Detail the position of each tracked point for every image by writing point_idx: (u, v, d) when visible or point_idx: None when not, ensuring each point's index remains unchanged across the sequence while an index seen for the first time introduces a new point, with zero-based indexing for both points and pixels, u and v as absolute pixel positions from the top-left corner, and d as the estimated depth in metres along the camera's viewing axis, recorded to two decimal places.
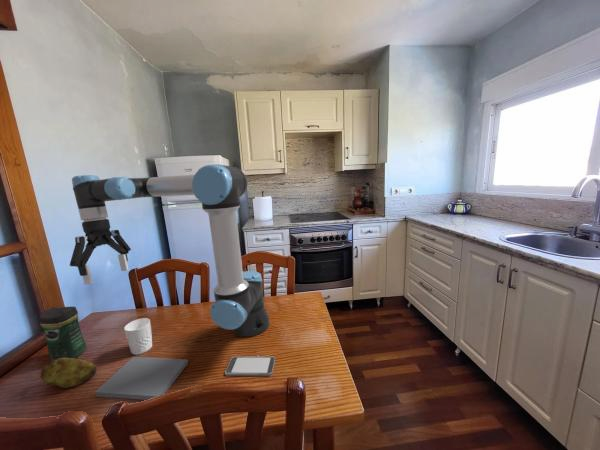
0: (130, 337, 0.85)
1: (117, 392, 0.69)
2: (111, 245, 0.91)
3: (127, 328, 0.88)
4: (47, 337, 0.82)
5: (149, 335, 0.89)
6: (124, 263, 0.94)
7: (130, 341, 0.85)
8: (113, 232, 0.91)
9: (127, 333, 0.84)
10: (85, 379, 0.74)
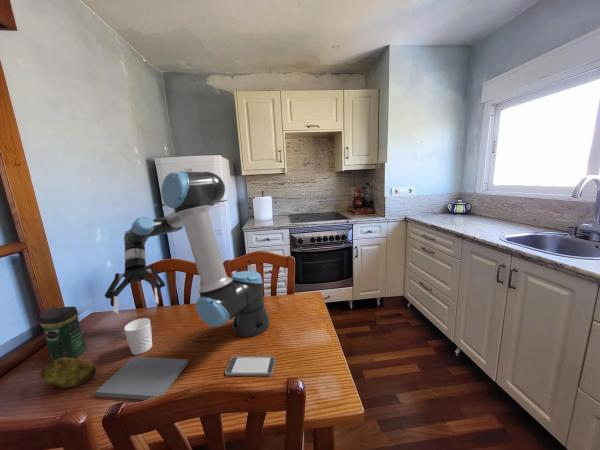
0: (130, 337, 0.85)
1: (117, 392, 0.69)
2: (147, 281, 1.01)
3: (127, 328, 0.88)
4: (47, 337, 0.82)
5: (149, 335, 0.89)
6: (155, 296, 0.98)
7: (130, 341, 0.85)
8: (149, 269, 1.04)
9: (127, 333, 0.84)
10: (85, 379, 0.74)
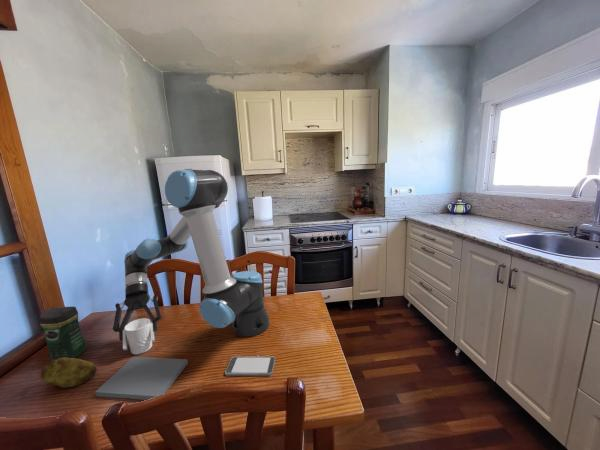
0: (130, 337, 0.85)
1: (117, 392, 0.69)
2: (145, 310, 0.93)
3: (127, 328, 0.88)
4: (47, 337, 0.82)
5: (149, 335, 0.89)
6: None
7: (130, 341, 0.85)
8: (152, 297, 0.96)
9: (127, 333, 0.84)
10: (85, 379, 0.74)
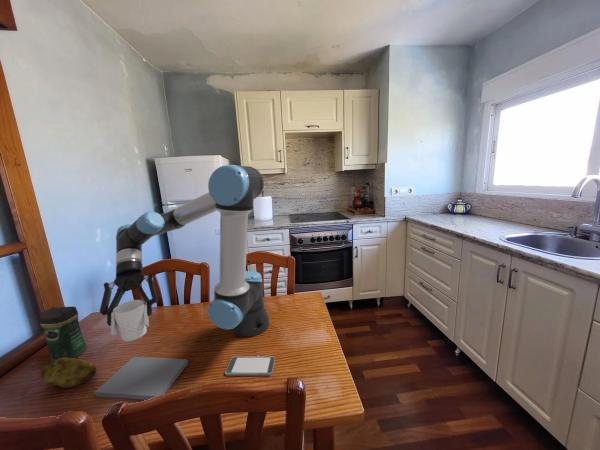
0: (119, 321, 0.72)
1: (117, 392, 0.69)
2: (139, 291, 0.80)
3: (117, 311, 0.75)
4: (47, 337, 0.82)
5: (142, 319, 0.76)
6: (144, 316, 0.76)
7: (120, 325, 0.72)
8: (147, 276, 0.83)
9: (116, 316, 0.72)
10: (85, 379, 0.74)
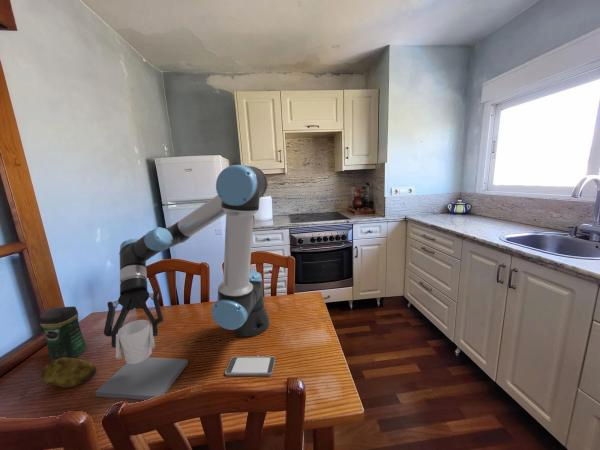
0: (125, 343, 0.69)
1: (117, 392, 0.69)
2: (144, 310, 0.77)
3: (121, 332, 0.72)
4: (47, 337, 0.82)
5: (148, 340, 0.73)
6: (150, 337, 0.73)
7: (125, 348, 0.69)
8: (152, 294, 0.80)
9: (121, 338, 0.69)
10: (85, 379, 0.74)
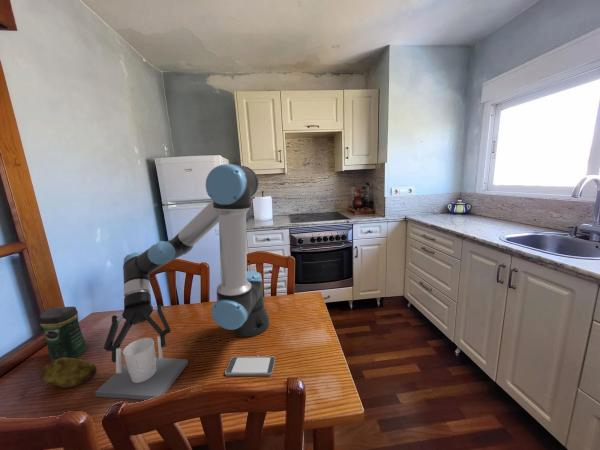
0: (130, 363, 0.70)
1: (117, 392, 0.69)
2: (149, 323, 0.79)
3: (126, 351, 0.73)
4: (47, 337, 0.82)
5: (153, 359, 0.74)
6: (158, 348, 0.74)
7: (130, 367, 0.71)
8: (156, 307, 0.81)
9: (126, 358, 0.70)
10: (85, 379, 0.74)
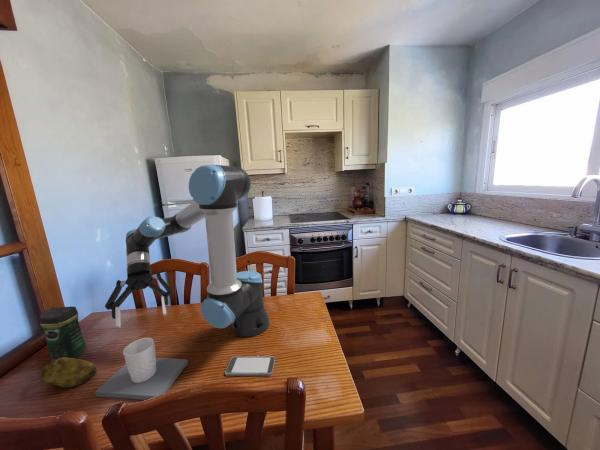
0: (130, 363, 0.70)
1: (117, 392, 0.69)
2: (152, 288, 0.89)
3: (127, 351, 0.73)
4: (47, 337, 0.82)
5: (153, 359, 0.74)
6: (162, 306, 0.86)
7: (130, 367, 0.71)
8: (155, 275, 0.92)
9: (126, 358, 0.70)
10: (85, 379, 0.74)
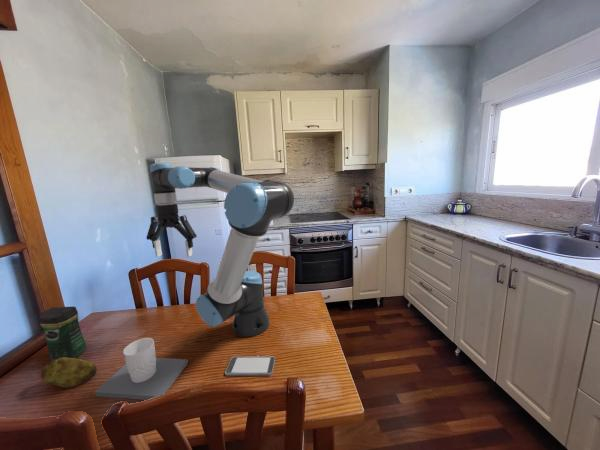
0: (130, 363, 0.70)
1: (117, 392, 0.69)
2: None
3: (127, 351, 0.73)
4: (47, 337, 0.82)
5: (153, 359, 0.74)
6: None
7: (130, 367, 0.71)
8: None
9: (127, 358, 0.70)
10: (85, 379, 0.74)
